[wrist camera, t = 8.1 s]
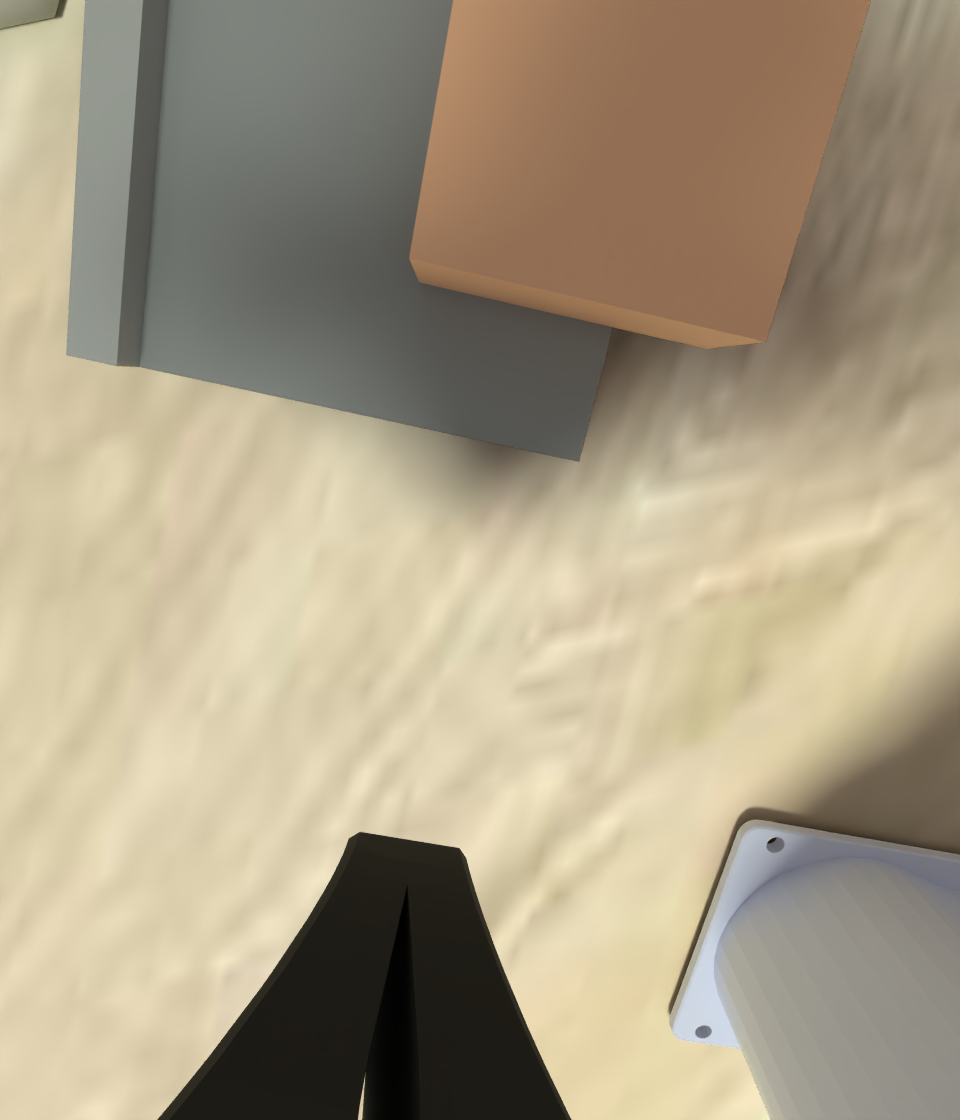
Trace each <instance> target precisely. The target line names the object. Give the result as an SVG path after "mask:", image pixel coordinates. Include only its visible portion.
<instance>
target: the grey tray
mask: <svg viewBox="0 0 960 1120" xmlns="http://www.w3.org/2000/svg"><path fill="white" fill-rule="evenodd" d="M452 5H453V0H85V15H84V33H83V52H82V71H81V90H80V108H79V127H78V146H77V165H76V183H75V202H74V221H73V240H72V259H71V277H70V296H69V315H68V334H67V352H66V355H68V356H72V357H77V358H82V359H86V360H91V361H96V362H100V363H105V364H110V365H114V366H130V367H142V368H147V369H152V370H156V371H161V372H166V373H170V374H175V375H179V376H184V377H189V378H193V379H198V380H203V381H207V382H212V383H217V384H221V385H226V386H230V387H235V388H240V389H244V390H249V391H254V392H258V393H263V394H267V395H272V396H277V397H281V398H286V399H291V400H295V401H300V402H304V403H309V404H314V405H318V406H323V407H328V408H332V409H337V410H342V411H346V412H351V413H355V414H360V415H365V416H369V417H374V418H379V419H383V420H388V421H392V422H397V423H402V424H406V425H411V426H416V427H420V428H425V429H430V430H434V431H439V432H443V433H448V434H453V435H457V436H462V437H467V438H471V439H476V440H480V441H485V442H490V443H494V444H499V445H504V446H508V447H513V448H517V449H522V450H527V451H531V452H536V453H541V454H545V455H550V456H555V457H559V458H564V459H568V460H573V461H578V462H579V460H580V456H581V452H582V448H583V444H584V440H585V437H586V433H587V429H588V425H589V421H590V417H591V413H592V409H593V405H594V401H595V397H596V393H597V389H598V385H599V381H600V377H601V373H602V369H603V365H604V361H605V358H606V354H607V350H608V346H609V342H610V338H611V334H612V330H613V327H609V326H605V325H601V324H596V323H592V322H588V321H583V320H579V319H575V318H570V317H566V316H562V315H557V314H553V313H549V312H544V311H540V310H536V309H531V308H527V307H523V306H518V305H514V304H510V303H505V302H501V301H497V300H493V299H488V298H484V297H480V296H475V295H471V294H467V293H462V292H458V291H454V290H449V289H445V288H441V287H436V286H432V285H428V284H423V283H419V281H418V278H417V276H416V274H415V271H414V269H413V266H412V264H411V262H410V259H409V256H410V250H411V244H412V238H413V232H414V226H415V221H416V215H417V209H418V203H419V197H420V191H421V186H422V180H423V174H424V168H425V162H426V156H427V150H428V145H429V139H430V133H431V127H432V121H433V115H434V110H435V104H436V98H437V92H438V86H439V80H440V75H441V69H442V63H443V57H444V51H445V45H446V40H447V34H448V28H449V22H450V16H451V10H452Z"/></svg>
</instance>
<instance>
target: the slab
mask: <svg viewBox="0 0 960 1120" xmlns="http://www.w3.org/2000/svg"><path fill="white" fill-rule="evenodd" d="M870 3H871V0H453V5H452V10H451V16H450V22H449V28H448V34H447V40H446V45H445V51H444V57H443V63H442V69H441V75H440V80H439V86H438V92H437V98H436V104H435V110H434V115H433V121H432V127H431V133H430V139H429V145H428V150H427V156H426V162H425V168H424V174H423V180H422V186H421V191H420V197H419V203H418V209H417V215H416V221H415V226H414V232H413V238H412V244H411V250H410V256H409V259H410V262H411V264H412V266H413V269H414V271H415V274H416V276H417V278H418V281H419V283H423V284H428V285H432V286H436V287H441V288H445V289H449V290H454V291H458V292H462V293H467V294H471V295H475V296H480V297H484V298H488V299H493V300H497V301H501V302H505V303H510V304H514V305H518V306H523V307H527V308H531V309H536V310H540V311H544V312H549V313H553V314H557V315H562V316H566V317H570V318H575V319H579V320H583V321H588V322H592V323H596V324H601V325H605V326H609V327H614V328H618V329H622V330H626V331H631V332H635V333H639V334H644V335H648V336H652V337H657V338H661V339H665V340H670V341H674V342H678V343H683V344H687V345H691V346H696V347H700V348H704V349H710V348H719V347H727V346H735V345H744V344H752V343H761V342H766V340H767V337H768V334H769V330H770V327H771V324H772V321H773V317H774V314H775V311H776V308H777V304H778V301H779V298H780V295H781V291H782V288H783V285H784V282H785V278H786V275H787V272H788V269H789V265H790V262H791V259H792V256H793V253H794V249H795V246H796V243H797V240H798V236H799V233H800V230H801V227H802V223H803V220H804V217H805V214H806V210H807V207H808V204H809V201H810V197H811V194H812V191H813V188H814V184H815V181H816V178H817V175H818V171H819V168H820V165H821V162H822V158H823V155H824V152H825V149H826V145H827V142H828V139H829V136H830V132H831V129H832V126H833V123H834V119H835V116H836V113H837V110H838V106H839V103H840V100H841V97H842V93H843V90H844V87H845V84H846V81H847V77H848V74H849V71H850V68H851V64H852V61H853V58H854V55H855V51H856V48H857V45H858V42H859V38H860V35H861V32H862V29H863V25H864V22H865V19H866V16H867V12H868V9H869V6H870Z"/></svg>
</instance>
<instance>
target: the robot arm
mask: <svg viewBox="0 0 960 1120" xmlns="http://www.w3.org/2000/svg"><path fill="white" fill-rule="evenodd" d="M774 837H778V838H777V839H776V841H774V842H773V843H768V844H767V842H768V841H769V840H770V839H772V838H774ZM669 1023H670V1026H671V1029H672V1032H673V1035H674V1036H675V1037H676V1038H678V1039H680V1040H683V1041H690V1042H697V1043H704V1044H711V1045H718V1046H725V1047H732V1048H739V1049H741V1050H742V1053H743V1055H744V1058H745V1060H746V1062H747V1065H748V1067H749V1070H750V1072H751V1074H752V1077H753V1079H754V1081H755V1084H756V1086H757V1089H758V1091H759V1093H760V1096H761V1098H762V1101H763V1103H764V1105H765V1108H766V1110H767V1112H768V1115H769V1117H770V1120H960V854H954V853H948V852H942V851H937V850H931V849H925V848H919V847H914V846H908V845H902V844H896V843H890V842H885V841H879V840H873V839H867V838H862V837H856V836H850V835H844V834H839V833H833V832H827V831H821V830H816V829H810V828H804V827H798V826H792V825H787V824H781V823H775V822H769V821H764V820H751V821H748V822H746V823H744V824H743V825H742V826H741V827H740V829H739V830H738V832H737V835H736V837H735V840H734V843H733V846H732V848H731V851H730V854H729V857H728V859H727V862H726V865H725V868H724V870H723V873H722V876H721V878H720V881H719V884H718V887H717V889H716V892H715V895H714V898H713V900H712V903H711V906H710V908H709V911H708V914H707V917H706V919H705V922H704V925H703V928H702V930H701V933H700V936H699V938H698V941H697V944H696V947H695V949H694V952H693V955H692V958H691V960H690V963H689V966H688V968H687V971H686V974H685V977H684V979H683V982H682V985H681V988H680V990H679V993H678V996H677V998H676V1001H675V1004H674V1007H673V1009H672V1012H671V1015H670V1018H669ZM365 1072H366V1073H365ZM364 1078H365V1088H364V1103H363V1118H362V1120H571V1118H570V1116H569V1114H568V1112H567V1110H566V1108H565V1106H564V1104H563V1101H562V1099H561V1097H560V1095H559V1093H558V1091H557V1089H556V1087H555V1085H554V1083H553V1081H552V1079H551V1077H550V1075H549V1072H548V1070H547V1068H546V1066H545V1064H544V1062H543V1060H542V1058H541V1055H540V1053H539V1051H538V1049H537V1047H536V1044H535V1042H534V1040H533V1038H532V1036H531V1033H530V1031H529V1029H528V1027H527V1024H526V1022H525V1020H524V1017H523V1015H522V1012H521V1010H520V1008H519V1005H518V1003H517V1001H516V998H515V996H514V993H513V991H512V989H511V986H510V984H509V981H508V979H507V977H506V974H505V972H504V969H503V967H502V964H501V962H500V959H499V957H498V954H497V951H496V949H495V946H494V944H493V941H492V938H491V935H490V932H489V930H488V927H487V924H486V921H485V919H484V916H483V913H482V910H481V907H480V904H479V901H478V898H477V895H476V892H475V888H474V885H473V882H472V878H471V875H470V871H469V868H468V864H467V860H466V857H465V856H464V854H463V853H462V851H461V850H460V848H455V847H449V846H443V845H437V844H431V843H424V842H418V841H412V840H406V839H400V838H394V837H388V836H381V835H375V834H369V833H363V832H359V833H357V834H356V835H354V836H352V837H351V838H349V840H348V843H347V845H346V848H345V851H344V853H343V856H342V858H341V860H340V862H339V864H338V866H337V868H336V870H335V872H334V874H333V876H332V878H331V880H330V882H329V883H328V885H327V887H326V889H325V891H324V892H323V894H322V896H321V897H320V899H319V901H318V902H317V904H316V906H315V907H314V909H313V911H312V912H311V914H310V916H309V917H308V919H307V921H306V922H305V924H304V925H303V927H302V928H301V930H300V931H299V933H298V934H297V936H296V937H295V939H294V940H293V942H292V943H291V945H290V946H289V948H288V949H287V951H286V952H285V954H284V955H283V957H282V958H281V960H280V961H279V963H278V964H277V966H276V967H275V969H274V970H273V972H272V973H271V974H270V976H269V977H268V979H267V980H266V982H265V983H264V984H263V986H262V987H261V988H260V990H259V991H258V992H257V994H256V995H255V996H254V998H253V999H252V1000H251V1002H250V1003H249V1004H248V1006H247V1007H246V1008H245V1010H244V1011H243V1012H242V1014H241V1015H240V1016H239V1018H238V1019H237V1020H236V1022H235V1023H234V1024H233V1026H232V1027H231V1028H230V1030H229V1031H228V1032H227V1034H226V1035H225V1036H224V1038H223V1039H222V1040H221V1042H220V1043H219V1044H218V1045H217V1047H216V1048H215V1049H214V1051H213V1052H212V1053H211V1055H210V1056H209V1057H208V1059H207V1060H206V1061H205V1062H204V1064H203V1065H202V1066H201V1067H200V1069H199V1070H198V1071H197V1072H196V1074H195V1075H194V1076H193V1077H192V1078H191V1080H190V1081H189V1082H188V1083H187V1085H186V1086H185V1087H184V1088H183V1090H182V1091H181V1092H180V1093H179V1094H178V1096H177V1097H176V1098H175V1099H174V1101H173V1102H172V1103H171V1104H170V1105H169V1107H168V1108H167V1109H166V1110H165V1111H164V1113H163V1114H162V1115H161V1116H160V1117H159V1119H158V1120H358V1114H359V1106H360V1100H361V1094H362V1089H363V1083H364Z"/></svg>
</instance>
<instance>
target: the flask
mask: <svg viewBox="0 0 960 1120" xmlns="http://www.w3.org/2000/svg"><path fill="white" fill-rule="evenodd" d="M58 4H59V0H0V29H1V28H6V27H10V26H15V25H20V24H25V23H29V22H34V21H39V20H44V19H49V18H53V17H55V14H56V11H57V7H58Z"/></svg>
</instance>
